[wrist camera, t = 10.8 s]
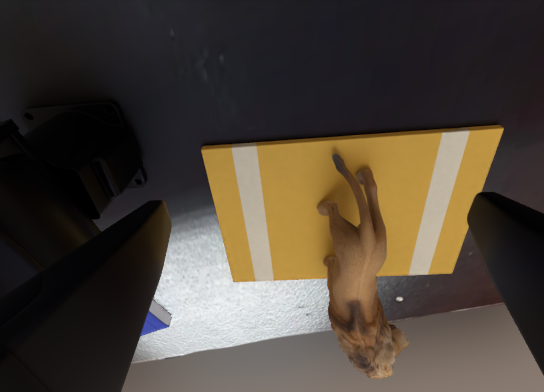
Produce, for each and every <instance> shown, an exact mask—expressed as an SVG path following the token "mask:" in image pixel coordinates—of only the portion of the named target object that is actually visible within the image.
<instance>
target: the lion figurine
mask: <svg viewBox="0 0 544 392" xmlns="http://www.w3.org/2000/svg"><path fill="white" fill-rule="evenodd" d="M332 159H333V162H334V164H335V166H336V169H337V171H338V172H340V173H341V174H342V175H343V176H344V178H345V179H346V180H347V182H348V183H349V185H350V187H351V189H352V191H353V194H354V196H355V199H356V202H357V205H358V209H359V215H360V224H359V225H358V226H357V227H356V226H354V225H353V224H352V223H350V222H349V221H347V220H346V219H344V218H343V217H342V216H341V215H340V214H339V207H338V204H337V203H336V202H330V201H323V202H321V203H320V204H319V205H318V208H317V210H318V212H319V213H320V214H321V215H323V216H328V215H329V227H330V234H331V237H332V240H333V246H334V251H335V253H336V255H337V257H336V258H335V257H332V256H330V257H327V258H326V259H324V262H323V264H324V265H325V266H326V267H328V271H327V277H328V281H327V286H328V289H329V297H330V301H329V307H328V314H329V319H330V322H331V327H332V329H333V330H334V331H335V333H336V335H337V338H338V341H339V343H340V347H341V349H342V350H343V352H344V353H346V355H347V356H348V358H349V360H350V361H351V362H352V364H353V366H354V367H355V368H356V369H357V370H358V371H360V372H362V373H364V374H366V375H367V376H368V377H369V378H375V379H380V378H385V377H387V376H390V375H393V373H394V369H393V366H392V364H393V363H394V362H395V359H396V357H397V355H398V354H399V353H400V352H401V351H402V350H403V349H405V348H406V347H407V346H408V345H409V341H408V339H406V336H405V334H404V333H403V332H402V331H401V330H400V329H396V327H395V325H394V324H393V323H387V319H386V317H385V315H384V312H383V308H382V304H381V302H380V300H379V298H378V292H377V289H376V288H377V277H376V274H377V273H378V271H379V270H380V269H381V267H382V266H383V264H384V262H385V260H386V256H387V237H386V227H385V224H384V221H383V219H382V216H381V212H380V208H379V203H378V195H377V190H378V187H377V184H376V182H375V180H374V176H373V172H372V170H370V169H362V170H360V171H359V172H358V175H357V180H358V182H359V183H358V182H357V181H356V179H355V178H354V176H353V175H352V174H351V172H350V171H349V170H348V169H347V168H346V166H345V163H344V159H342V158H341V157H340V155H338V154H333V155H332ZM359 184H362V185H364V191H365V194H366V199H367V202H366V199H365V196H364V194H363V191H362V189H361V187H360V185H359Z"/></svg>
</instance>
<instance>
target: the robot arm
mask: <svg viewBox="0 0 544 392" xmlns="http://www.w3.org/2000/svg"><path fill="white" fill-rule="evenodd" d="M108 106H110V107H112V108H113V110H114V112H113V111H111V110H110V109H109V108H108ZM29 113H30V114H31V115H32V116H33V117H31V116H30V115H29ZM21 116H22V118H23V120H24V121H25V123H26V125H27V127H28V128H29V130H30V132H28V133H27V134H25V135H23V136H22V135H21V134H20V133H19V131H18V129H19V128H18V126H17V125H16V124H15V123H14V122H13V120H12V119H9V120H6V121H3V122H0V392H121V390H122V387H123V384H124V382H125V379H126V376H127V373H128V370H129V367H130V364H131V361H132V358H133V355H134V353H135V350H136V347H137V344H138V341H139V338H140V335H141V332H142V329H143V326H144V324H145V321H146V318H147V315H148V312H149V309H150V306H151V303H152V300H153V297H154V295H155V292H156V289H157V286H158V283H159V280H160V277H161V274H162V270H163V266H164V261H165V256H166V252H167V247H168V242H169V238H170V233H171V227H172V226H171V220H170V216H169V213H168V210H167V206H166V204H165V202H164V201H162V200H151V201H148V202H147V203H145V204H144V205H142V206H141V207H139V208H138V209H136V210H134V211H133V212H131V213H130V214H128V215H127V216H125V217H124V218H122V219H121V220H119V221H118V222H116V223H115V224H113V225H112V226H110V227H109V228H107V229H105V230H104V231H102V232H101V231H100V230H99V228H98V227H97V226H96V225H95V224H94V222H93V221H92V220H91V219H99V218H100V217H101V216H102V214H103V213H104V212H105V210H106V209H107V207H108V206H109V205H110V203H111V202H112V201H113V199H114V198H119V197H120V195H121V194H122V193H123V191H124V190H125V189H126V188H138V187H143V186H144V185H145V184H146V182H147V178H146V175H145V173H144V170H143V167H142V165H143V162H142V160H141V157H140V154H139V152H138V149H137V146H136V144H135V141H134V138H133V136H132V133H131V132H130V131H129V130H128V128H127V125H126V122H125V120H124V117H123V115H122V112H121V109H120V107H119V105H118V104H117V103H116V102H115V101H112V100H105V101H94V102H82V103H70V104H58V105H46V106H34V107H27V108H25V109H23V110H22V111H21ZM137 179H140V180H141V181H142V182H140V181H138V180H137ZM467 223H468V226H469V228H470V231H471V233H472V236H473V238H474V241H475V243H476V246H477V248H478V251H479V253H480V255H481V258H482V260H483V263H484V265H485V267H486V269H487V271H488V273H489V275H490V277H491V279H492V281H493V283H494V285H495V286H496V288H497V290H498V292H499V294H500V296H501V297H502V299H503V301H504V303H505V305H506V307H507V309H508V310H509V312H510V314H511V316H512V318H513V319H514V321H515V323H516V325H517V327H518V329H519V331H520V332H521V334H522V336H523V338H524V340H525V342H526V344H527V345H528V347H529V349H530V351H531V353H532V355H533V356H534V358H535V360H536V362H537V364H538V366H539V368H540V369H541V371H542V373H543V375H544V214H543V213H541V212H539V211H536V210H534V209H532V208H530V207H527V206H525V205H523V204H520V203H518V202H516V201H514V200H511V199H509V198H507V197H505V196H502V195H500V194H498V193H495V192H479V193H477V194H476V195H475V197H474V200H473V202H472V205H471V207H470V210H469V212H468V215H467Z"/></svg>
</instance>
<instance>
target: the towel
mask: <svg viewBox="0 0 544 392" xmlns="http://www.w3.org/2000/svg"><path fill="white" fill-rule="evenodd" d="M503 130H504V128H503V127H501V126H500V125H491V126H477V127H463V128H449V129H435V130H421V131H408V132H394V133H380V134H366V135H352V136H338V137H324V138H310V139H296V140H282V141H268V142H254V143H240V144H226V145H212V146H203V147H202V149H201V151H202V155H203V160H204V164H205V168H206V172H207V176H208V180H209V184H210V188H211V192H212V196H213V200H214V205H215V209H216V213H217V217H218V221H219V225H220V229H221V233H222V237H223V241H224V245H225V250H226V254H227V258H228V262H229V266H230V270H231V274H232V278H233V282H249V281H274V280H299V279H324V278H328V277H327V271H328V267H326V266H325V265H324V264H323V262H324V259H326V258H327V257H330V256H332V257H335V258H336V257H337V255H336V253H335V251H334V246H333V240H332V237H331V234H330V227H329V215H328V216H323V215H321V214H320V213H319V212H318V210H317V208H318V205H319V204H320V203H321V202H323V201H330V202H336V203H337V204H338V207H339V214H340V215H341V216H342V217H343V218H344V219H346V220H347V221H349V222H350V223H352V224H353V225H354V226H356V227H357V226H358V225H359V224H360V215H359V209H358V205H357V202H356V199H355V196H354V194H353V191H352V189H351V187H350V185H349V183H348V182H347V180H346V179H345V178H344V176H343V175H342V174H341V173H340V172H338V171H337V169H336V166H335V164H334V162H333V159H332V155H333V154H338V155H340V157H341V158H342V159H344V163H345V166H346V168H347V169H348V170H349V171H350V172H351V174H352V175H353V176H354V178H355V179H356V181H357V182H358V180H357V175H358V172H359V171H360V170H362V169H370V170H372V172H373V176H374V180H375V182H376V184H377V187H378V190H377V195H378V203H379V208H380V212H381V216H382V219H383V221H384V224H385V227H386V237H387V256H386V260H385V262H384V264H383V266H382V267H381V269H380V270H379V271H378V273H377V274H376V276H400V275H428V274H450V273H452V272H453V269H454V266H455V263H456V261H457V258H458V255H459V252H460V249H461V247H462V244H463V241H464V238H465V236H466V233H467V230H468V227H469V226H468V223H467V215H468V212H469V210H470V207H471V205H472V202H473V200H474V197H475V195H476V194H477V193H479V192H481V191H482V188H483V185H484V183H485V180H486V177H487V174H488V171H489V169H490V166H491V163H492V160H493V157H494V155H495V152H496V149H497V146H498V143H499V141H500V138H501V135H502V132H503ZM358 183H359V182H358ZM359 185H360V187H361V189H362V191H363V194H364V196H365V199H366V194H365V191H364V185H362V184H359ZM366 202H367V199H366Z"/></svg>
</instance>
